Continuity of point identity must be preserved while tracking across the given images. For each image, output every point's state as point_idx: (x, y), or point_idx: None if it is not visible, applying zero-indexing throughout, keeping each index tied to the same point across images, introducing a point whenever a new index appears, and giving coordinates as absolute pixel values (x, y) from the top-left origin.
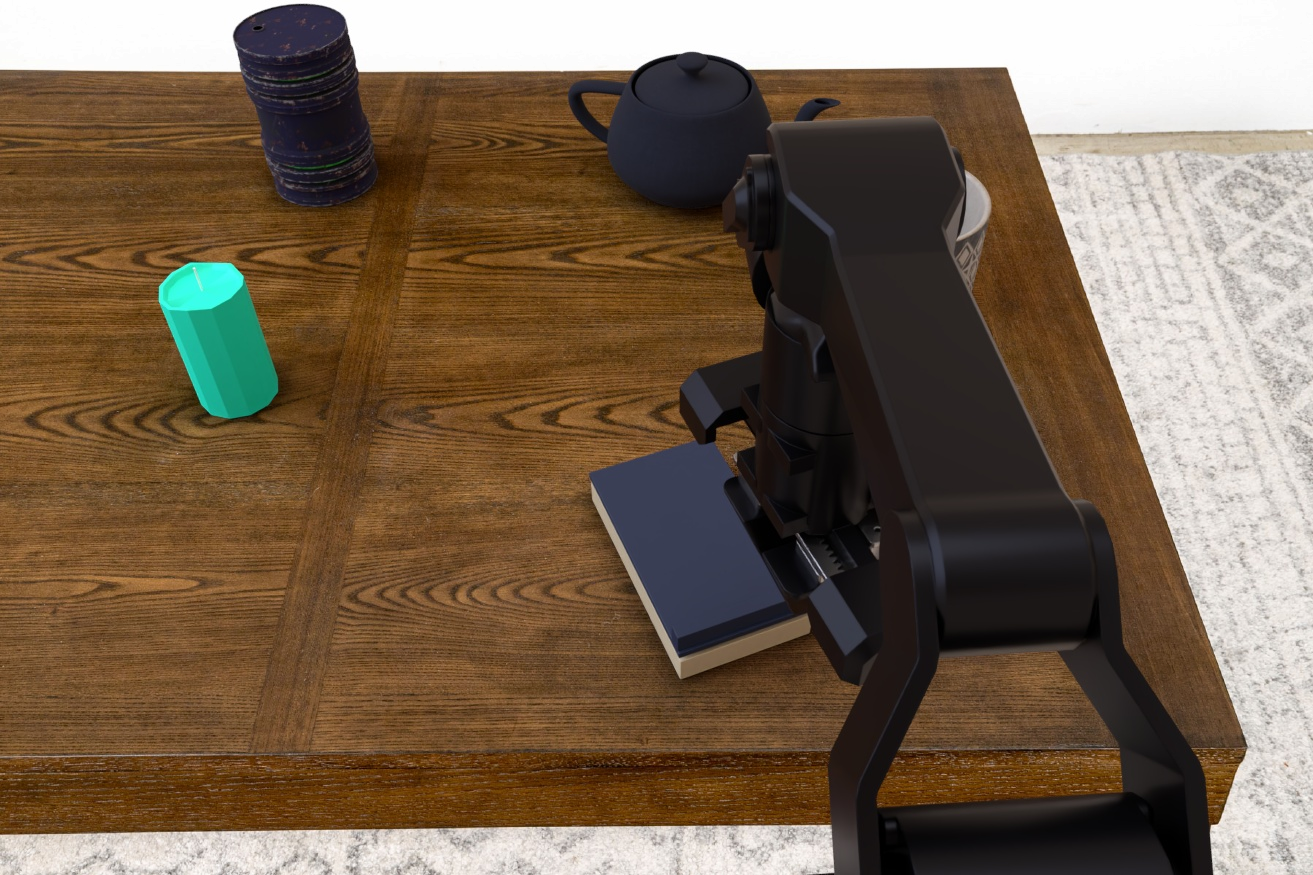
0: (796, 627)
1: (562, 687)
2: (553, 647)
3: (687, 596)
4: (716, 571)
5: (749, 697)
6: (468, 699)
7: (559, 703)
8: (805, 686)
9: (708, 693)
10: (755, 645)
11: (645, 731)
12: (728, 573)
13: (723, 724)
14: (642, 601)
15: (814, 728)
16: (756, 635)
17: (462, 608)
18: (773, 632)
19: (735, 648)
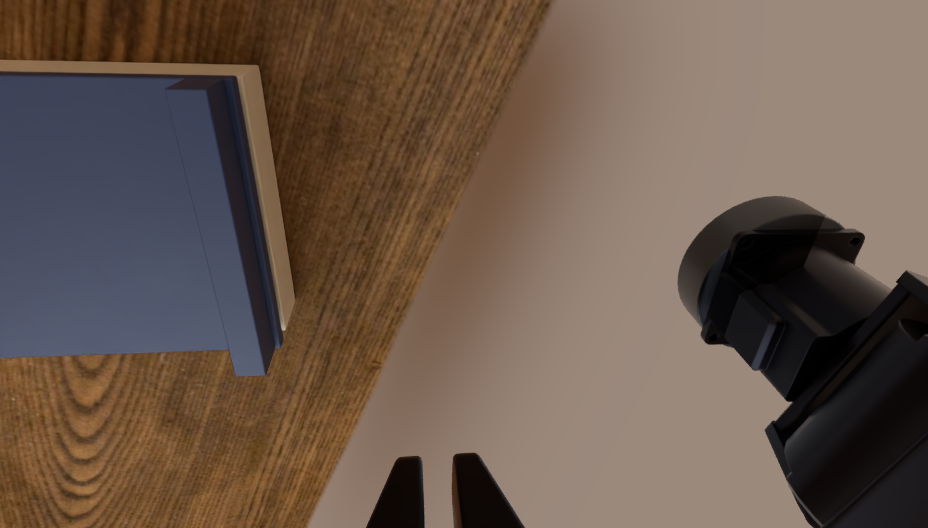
0: (255, 108)
1: (264, 424)
2: (195, 420)
3: (154, 301)
4: (94, 233)
5: (358, 222)
6: (253, 501)
7: (287, 430)
8: (370, 129)
9: (331, 273)
10: (271, 189)
11: (362, 360)
12: (103, 215)
13: (390, 272)
14: None
15: (450, 153)
16: (264, 202)
17: (106, 492)
18: (261, 164)
19: (274, 232)
